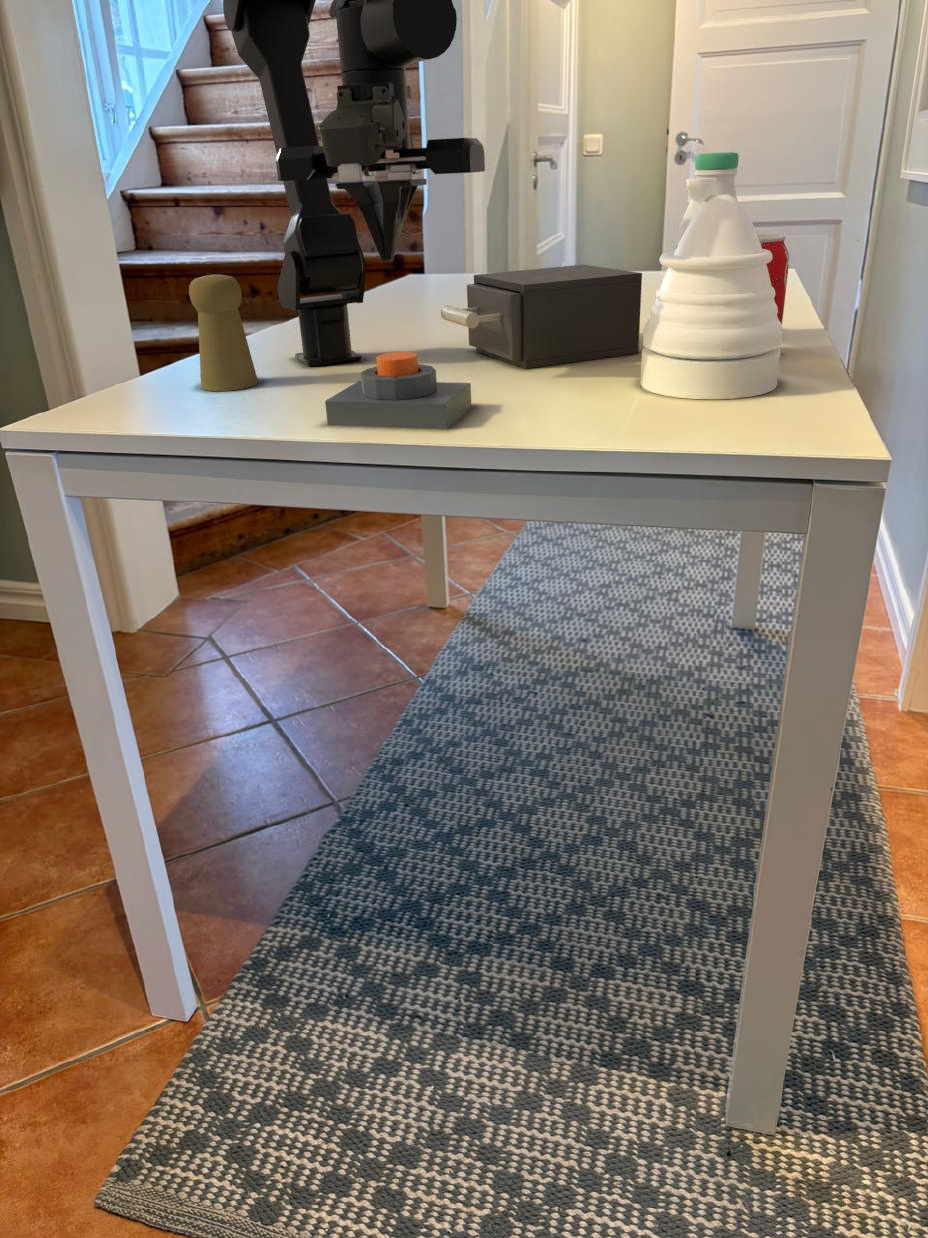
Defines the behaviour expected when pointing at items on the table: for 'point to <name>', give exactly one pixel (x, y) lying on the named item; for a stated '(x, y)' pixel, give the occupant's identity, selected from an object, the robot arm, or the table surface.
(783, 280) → the soda can
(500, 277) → the cabinet
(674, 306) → the honey pot
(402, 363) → the button
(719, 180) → the milk bottle
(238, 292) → the cork
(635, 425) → the table surface
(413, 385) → the control block
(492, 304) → the drawer
